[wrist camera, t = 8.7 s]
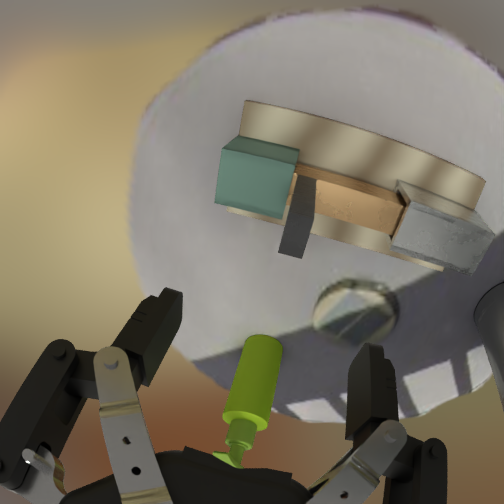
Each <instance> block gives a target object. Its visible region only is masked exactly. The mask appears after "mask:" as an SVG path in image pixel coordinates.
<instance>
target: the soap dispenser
mask: <svg viewBox="0 0 504 504" xmlns="http://www.w3.org/2000/svg"><path fill="white" fill-rule="evenodd" d="M282 352H283V347H282V345H281V343H280V342H279V341H277V340H276V339H274V338H272V337H270V336H266V335H254V336H251V337H249V338H248V339H247V340H246V341H245V344H244V348H243V351H242V354H241V358H240V361H239V364H238V367H237V371H236V374H235V377H234V380H233V383H232V387H231V390H230V393H229V396H228V399H227V403H226V406H225V409H224V412H223V419H224V421H225V422H226V423H228V424H229V425H230V426H229V430H228V433H227V436H226V440H225V443H226V444H227V445H228V446H229V447H230V451H229V453H226V452H218V451H214V452H213V455H214V456H215V457H217V458H219V459H220V460H222V461H224V462H226V463H228V464H230V465H232V466H233V467H236V468H244V467H243V466H241V465H240V464H241V460H242V456H243V453H244V451H245V450H249V449H251V448H252V446H253V442H254V438H255V434H256V431H260V430H264V429H265V428H267V426H268V421H269V417H270V412H271V407H272V403H273V398H274V393H275V388H276V383H277V378H278V373H279V368H280V363H281V357H282Z"/></svg>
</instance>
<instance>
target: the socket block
mask: <svg viewBox="0 0 504 504" xmlns="http://www.w3.org/2000/svg"><path fill="white" fill-rule="evenodd" d="M299 151H300V149H297V148H293V147H289V146H285V145H281V144H277V143H272V142H268V141H263V140H259V139H254V138H250V137H245V136H240V135H238V136H237V137H236V138H235V139H233V140H232V141H231V142H229V143H228V144H227V145H226V146H224V147H223V148H222V151H221V158H220V165H219V173H218V180H217V187H216V195H215V203H217V204H221V205H225V206H229V207H233V208H237V209H241V210H245V211H249V212H253V213H257V214H261V215H265V216H269V217H273V218H277V219H280V220H282V217H283V214H284V210H285V206H286V201H287V197H288V193H289V189H290V185H291V181H292V177H293V173H294V169H295V166H296V163H297V159H298V155H299Z"/></svg>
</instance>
